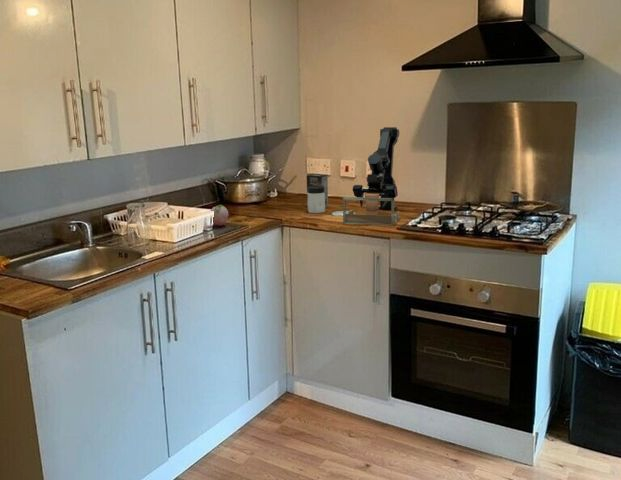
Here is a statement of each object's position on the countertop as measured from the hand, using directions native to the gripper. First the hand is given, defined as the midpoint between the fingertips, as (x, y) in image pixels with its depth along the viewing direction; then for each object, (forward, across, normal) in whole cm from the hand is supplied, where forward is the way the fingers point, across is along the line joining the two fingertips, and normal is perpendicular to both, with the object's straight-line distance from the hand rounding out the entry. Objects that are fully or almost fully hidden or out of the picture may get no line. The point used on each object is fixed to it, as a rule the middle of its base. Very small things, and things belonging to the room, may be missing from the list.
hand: (371, 206), depth 276 cm
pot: (+4, 0, +5) cm, 6 cm away
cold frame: (+4, 0, +6) cm, 7 cm away
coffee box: (-19, -35, +29) cm, 49 cm away
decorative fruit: (+19, -64, -9) cm, 67 cm away
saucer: (-6, -17, +16) cm, 24 cm away
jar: (-10, -32, +20) cm, 38 cm away
